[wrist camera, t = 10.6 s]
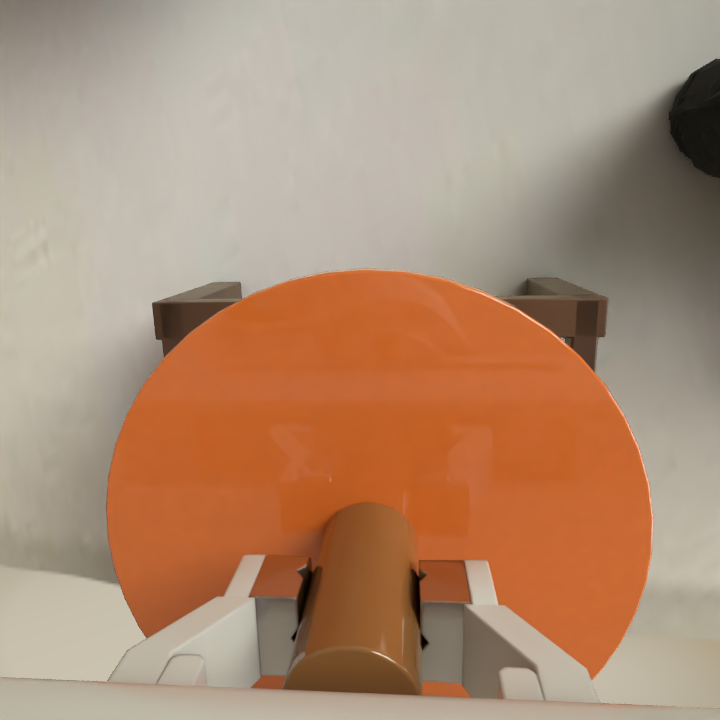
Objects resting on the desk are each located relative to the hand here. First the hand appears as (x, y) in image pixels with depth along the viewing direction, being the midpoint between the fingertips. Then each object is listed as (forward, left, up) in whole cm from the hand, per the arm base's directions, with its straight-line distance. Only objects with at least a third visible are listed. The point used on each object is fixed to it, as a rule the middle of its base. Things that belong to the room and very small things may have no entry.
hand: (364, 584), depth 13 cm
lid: (0, 0, -2) cm, 2 cm away
